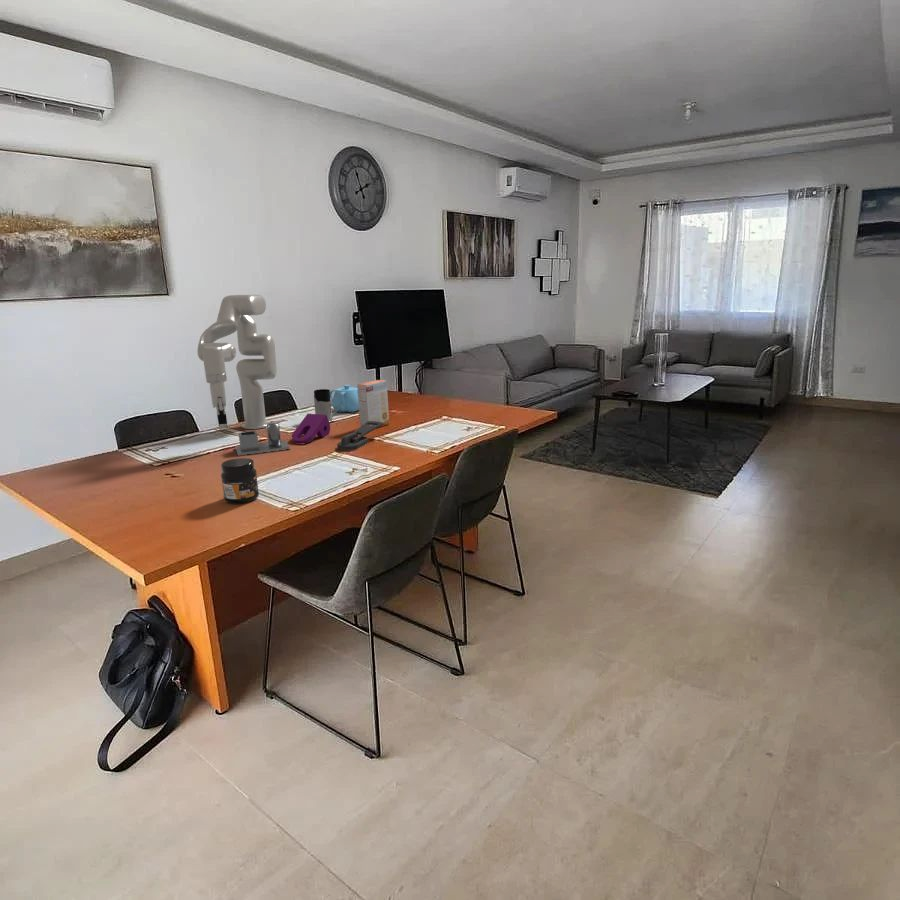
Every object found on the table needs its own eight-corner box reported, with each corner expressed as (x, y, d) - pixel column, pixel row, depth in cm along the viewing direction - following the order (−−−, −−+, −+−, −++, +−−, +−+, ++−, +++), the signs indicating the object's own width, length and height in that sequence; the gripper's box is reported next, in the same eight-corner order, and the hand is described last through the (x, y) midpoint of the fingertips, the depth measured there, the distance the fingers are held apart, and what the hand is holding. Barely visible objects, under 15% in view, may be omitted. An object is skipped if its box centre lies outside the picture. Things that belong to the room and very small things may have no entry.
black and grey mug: (316, 419, 293) (313, 389, 289) (345, 418, 294) (343, 388, 290) (314, 423, 284) (311, 392, 280) (344, 422, 286) (342, 391, 282)
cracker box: (380, 423, 283) (377, 379, 277) (389, 424, 280) (387, 380, 274) (359, 429, 272) (356, 383, 267) (369, 430, 269) (366, 384, 263)
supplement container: (225, 507, 180) (220, 469, 177) (223, 496, 189) (218, 460, 186) (261, 501, 184) (257, 464, 181) (257, 491, 193) (253, 455, 190)
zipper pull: (385, 422, 256) (351, 435, 235) (385, 437, 258) (352, 451, 237) (367, 420, 260) (332, 433, 238) (368, 435, 262) (334, 449, 240)
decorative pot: (338, 415, 301) (336, 388, 297) (328, 409, 315) (326, 384, 311) (368, 411, 308) (367, 385, 305) (357, 406, 322) (356, 381, 318)
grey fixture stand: (235, 448, 244) (232, 424, 241) (285, 442, 251) (283, 419, 248) (238, 456, 233) (235, 431, 230) (290, 449, 241) (287, 425, 238)
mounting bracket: (313, 456, 252) (332, 429, 264) (306, 441, 246) (326, 414, 259) (294, 454, 255) (313, 428, 267) (287, 439, 249) (307, 413, 262)
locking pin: (218, 427, 241) (215, 403, 238) (227, 426, 243) (223, 402, 239) (219, 429, 239) (215, 405, 235) (227, 428, 240) (224, 404, 237)
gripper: (205, 375, 240) (211, 419, 246) (207, 382, 226) (213, 429, 231) (224, 373, 243) (230, 416, 249) (227, 380, 228) (234, 426, 234)
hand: (222, 422), depth 240 cm, fingers closed on locking pin, 3 cm apart
